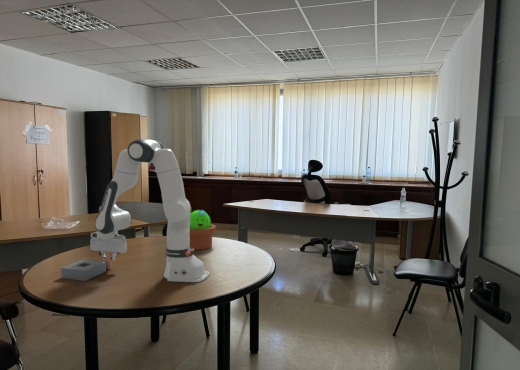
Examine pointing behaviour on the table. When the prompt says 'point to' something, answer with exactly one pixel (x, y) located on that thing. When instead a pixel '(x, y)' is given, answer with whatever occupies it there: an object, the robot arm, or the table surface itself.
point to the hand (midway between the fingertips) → (109, 259)
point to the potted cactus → (201, 230)
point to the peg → (108, 260)
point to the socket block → (83, 270)
